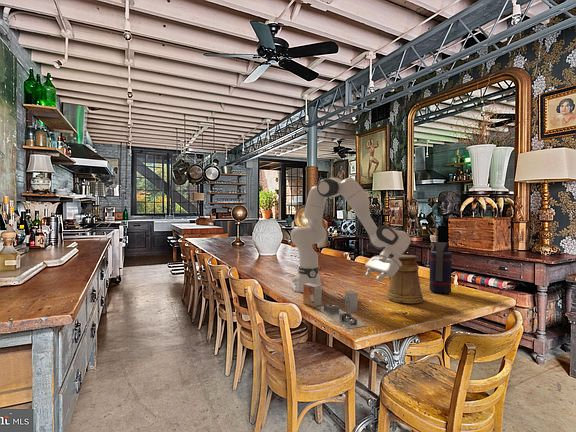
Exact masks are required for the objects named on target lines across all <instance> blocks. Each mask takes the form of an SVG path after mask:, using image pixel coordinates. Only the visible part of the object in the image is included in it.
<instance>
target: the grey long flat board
mask: <svg viewBox="0 0 576 432" xmlns="http://www.w3.org/2000/svg"><path fill="white" fill-rule="evenodd" d="M315 309H317V310H318V311H320V312H321V313H323V314H324V315H325V316H327V317H329V319H331V320H333V321H334V322H336V323H337V324H338V325H340V326H342V327H343V328H345V329H346V330H349V329H357V328H362V327H368V325H367V324H366V323H364V322H363V321H361V320H359V319H358V318H356V317H354V316H352V312H348V311H344V310H342V309H340V306H339V305H335V304H331V303H328V304H323V306H322V305H320V306H316V307H315Z"/></svg>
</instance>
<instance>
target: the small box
mask: <svg viewBox="0 0 576 432" xmlns="http://www.w3.org/2000/svg"><path fill="white" fill-rule="evenodd" d="M322 287H323V285H322V284H321V285H318V284H314V283H306V284H304V292H302V293H303V297H302V298H303V300H302V301H303V302H302V304H304V305H307V306H309V307H312V308H316V307H321V306H322V296H323V295H322V291H323V289H322Z"/></svg>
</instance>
